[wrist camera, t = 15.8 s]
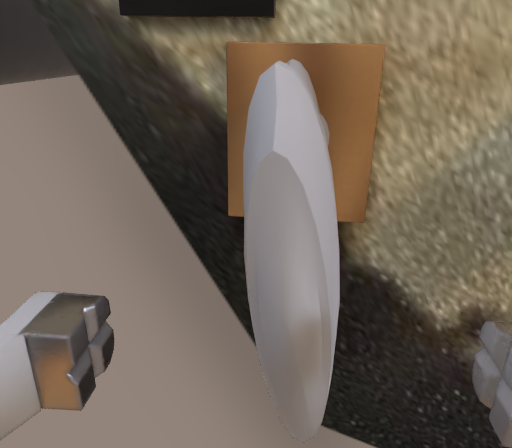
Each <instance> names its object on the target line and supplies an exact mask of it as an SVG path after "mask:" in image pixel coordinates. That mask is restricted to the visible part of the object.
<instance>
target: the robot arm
mask: <svg viewBox="0 0 512 448" xmlns="http://www.w3.org/2000/svg"><path fill="white" fill-rule="evenodd" d="M110 313H111V312H110V306H109V301H108V299H107V298H106V297H105V296H97V295H85V294H74V293H60V292H47V291H46V292H45V291H41V292H36V293H35V294H34V295H32V296H31V297H30V298H29V299H28V300H27V301H26V302H25V303H24V304H23V305H22V306H21V307H20V308H19V309H17V310H16V311H15V312H14V313H13V314H12V315H11V316H10V317H9V318H8V319H7V320H6V321H5V322H4V323H2V324H1V325H0V440H2V439H3V438H4V437H6V436H7V435H8V434H10V433H11V432H13V431H14V430H15V429H17V428H18V427H19V426H21V425H22V424H24V423H25V422H26V421H28V420H29V419H30V418H32V417H33V416H35V415H36V414H37V413H39V412H40V411H41V408H44V409H63V410H80V411H81V410H82V409H83V407H84V406H85V404H86V402H87V401H88V399H89V397H90V396H91V394H92V392H93V391H94V389H95V387H96V384H95V377H97V376H98V375H100V374H102V373H103V372H105V370H106V368H107V367H108V365H109V363H110V361H111V357H112V353H113V350H114V334H113V329H112V328H111V327H110V326H109V324H108V323H107V322H106V319H107V318H108V316H109V315H110ZM479 338H480V340H481V341H482V343H483V345H484V347H483V348H482V349H481V350H480V351H478V352H477V353H476V354H475V355H474V359H473V364H472V382H473V385H474V389H475V392H476V394H477V396H478V398H479V400H480V401H481V402H482V403H483V404H485V405H486V406H487V407H489V408H490V409H491V412H490V415H489V420H490V422H491V424H492V426H493V428H494V430H495V432H496V433H497V435H498V437H499V439H500V441H501V443H502V445H503V447H512V322H499V321H486V322H485V323H484V325H483V326H482V328H481V332H480V336H479Z"/></svg>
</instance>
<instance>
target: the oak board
mask: <svg viewBox="0 0 512 448" xmlns="http://www.w3.org/2000/svg"><path fill="white" fill-rule="evenodd" d="M385 46H386V45H385V44H336V43H270V42H227V132H228V215H229V216H240V217H244V200H243V152H244V144H245V135H246V127H247V118H248V110H249V106H250V103H251V100H252V97H253V94H254V91H255V88H256V85H257V82H258V79H259V77H260V75H261V74H263V73H264V72H265V71H266V70H267V69H268V68H270V67H271V66H272V65H273V64H274V63H276V62H278V61H282V62H284V63H287V62H288V61H290V60H291V59H294V60H296V61H299V62H301V64H302V65H303V67H304V68H305V69H306V71H307V72H308V74H309V77H310V80H311V82H312V85H313V88H314V91H315V94H316V98H317V102H318V107H319V111H320V114H322V116H323V117H324V119H325V121H326V122H327V125H328V129H329V134H330V136H329V144H328V151H329V156H330V161H331V165H332V172H333V182H334V192H335V202H336V211H337V221H339V222H358V223H364V221H365V213H366V204H367V196H368V188H369V179H370V171H371V163H372V154H373V146H374V138H375V129H376V121H377V113H378V104H379V96H380V88H381V79H382V71H383V63H384V54H385Z"/></svg>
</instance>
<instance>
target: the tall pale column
mask: <svg viewBox="0 0 512 448" xmlns="http://www.w3.org/2000/svg"><path fill="white" fill-rule="evenodd" d="M329 136H330V134H329V129H328V125H327V122H326V121H325V119H324V117H323V116H322V114H320V111H319V107H318V102H317V98H316V94H315V91H314V88H313V85H312V82H311V80H310V77H309V74H308V72H307V71H306V69H305V68H304V67H303V65H302V64H301V62H299V61H296V60H294V59H291V60H290V61H288V62H287V63H284V62H282V61H278V62H276V63H274V64H273V65H272V66H271V67H270V68H268V69H267V70H266V71H265V72H264V73H263V74H261V75H260V77H259V79H258V82H257V85H256V88H255V91H254V94H253V97H252V100H251V103H250V106H249V110H248V118H247V127H246V135H245V144H244V152H243V200H244V259H245V270H246V280H247V291H248V301H249V307H250V313H251V319H252V325H253V330H254V335H255V340H256V346H257V351H258V356H259V362H260V365H261V368H262V372H263V375H264V379H265V382H266V385H267V389H268V393H269V396H270V398H271V401H272V403H273V405H274V407H275V410H276V412H277V414H278V417H279V419H280V421H281V423H282V424H283V426H284V427H285V428H286V430H287V431H288V432H289V434H290V435H291V436H292V438H294V439H296V440H298V441H300V442H302V443H305V442H306V441H308V440H310V439H312V438H314V436H315V434H316V432H317V430H318V429H319V427H320V425H321V423H322V420H323V416H324V411H325V407H326V403H327V398H328V393H329V388H330V382H331V376H332V369H333V359H334V350H335V341H336V333H337V323H338V312H339V302H340V277H339V241H338V226H337V211H336V202H335V192H334V182H333V172H332V165H331V161H330V156H329V151H328V144H329Z"/></svg>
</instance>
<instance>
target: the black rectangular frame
mask: <svg viewBox="0 0 512 448" xmlns="http://www.w3.org/2000/svg"><path fill="white" fill-rule="evenodd" d="M119 7H120V15H123V16H159V17H256V18H275V9H276V0H119Z"/></svg>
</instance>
